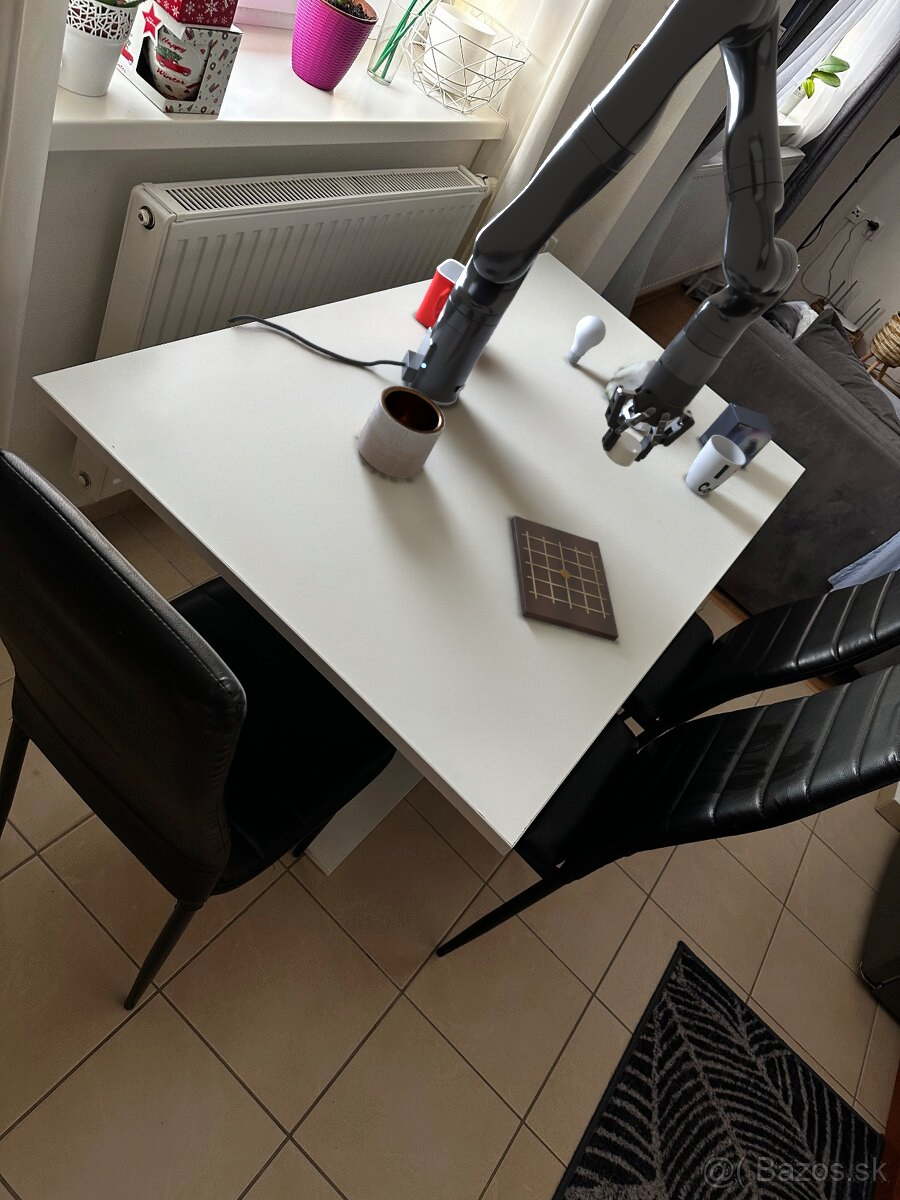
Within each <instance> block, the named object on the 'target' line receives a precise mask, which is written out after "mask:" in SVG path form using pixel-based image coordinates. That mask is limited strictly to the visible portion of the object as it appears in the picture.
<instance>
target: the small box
mask: <svg viewBox="0 0 900 1200" xmlns="http://www.w3.org/2000/svg"><path fill="white" fill-rule="evenodd" d="M713 435H720V436H723V437H725V438H727V439H729V440H731V441H732V442H733V443H735V444H736V445H737V446H738V447H739V448H740V449H741V451H742V452H743V454H744V455H745V458H746V462H745V463H744V464H743V465H742V466H741V467H740V468H739V469H743V470H744V469H745V468H746V467H747V466H748V465H749V464H750V463H751V461H753V460H754V458H756V456H757V455H758V454H759V453H760V452H761V451H762V450H763V449H764V448H765V447H766V446H767V445H768V444H769V443H770V442H771V441H772V440H773V438H775V437H776V436H777V434H776V431H775V429H774V427H773V426H772V423H771V422H770V419H769V417H768V416H767V415H765V414H762V413H760V412H758V411H754V410H751V409H749V408H746V407H744V406H740V405H738V404H736V403H732V402H730V403H728V405H727V406H726V407H725V409H724V410H723V411H722V412H721V413H720V414H719V415H718V416H717V418H716V419H715V420H714V421H713V422H712V423H711V424H710V426H709V427H708V428H707V429H706V430H705V431H704V432H703V433H702V434H701V435H700V437H699V438H698V439H699V441H700V443H701V445H702V448H703V447H704V446H705V445H706V443H707V442H708V441H709V439H710V438H711V437H712V436H713Z"/></svg>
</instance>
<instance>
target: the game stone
mask: <svg viewBox="0 0 900 1200" xmlns="http://www.w3.org/2000/svg"><path fill="white" fill-rule="evenodd" d="M640 442H641V441H640V440H639V439H638V438H637V437H636V436H635V435H633V434H631V433H630V432H628V431H626V430H625V431H624V432H622V433H621V437H620V438H619V439H618V441H617V442H616V443H615V445H614V446H613V447H612V449H611V450H610V451H609V452H607V451H604V452H605V455H606V456H607V457H608V458H609V460H611V461H612V462H613V463H614V464H616V465H618V466H621V467H630V466H631V465H632V464H633V463H634V462H635V461H634V460H635V459H636V458H637V457H638V455H639V454H640V453H641V451H642V445H641V443H640Z"/></svg>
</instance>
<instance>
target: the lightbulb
mask: <svg viewBox="0 0 900 1200" xmlns="http://www.w3.org/2000/svg"><path fill="white" fill-rule="evenodd" d="M606 331H607V329H606V325H605V322H604V321H603V320H602V319H601V318H600V317H599V316H596V315H587V316H584V317H583V318H581V319H580V320H579V322H578V323H577V325H576V327H575V333H574V335H575V336H574V340H573V344H572V345H571V348H570V350H569V353H568V354H567V355H566V356H567V360H568V362H569V363H570V364H578V362H579V361H580V360H581V359H582V357H584V356H585V355H586V353H587V352H588V351H590V350H591V349H592V348H594V347H596V346H598V345H600V344H601V343H602V342H603V341H604V339H605V337H606V334H607V333H606Z"/></svg>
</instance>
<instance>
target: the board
mask: <svg viewBox="0 0 900 1200" xmlns="http://www.w3.org/2000/svg"><path fill="white" fill-rule="evenodd" d="M510 527H511V534H512V542H513V551H514V558H515V567H516V575H517V582H518V590H519V599H520V606H521V614H522V616H523V617H526V618H528V619H529V618H530V619H533V620H537V621H539V622H540V621H541V622H544V623H547V624H552V625H555V626H558V627H562V628H565V629H568V630H569V629H570V630H572V631H577V632H580V633H584V634H587V635H591V636H595V637H597V638H602V639H606V640H609V641H612V642H615V641H616V640H617V639H619V633H618V632H619V631H618V627H617V623H616V617H615V613H614V609H613V603H612V599H611V594H610V590H609V585H608V580H607V575H606V571H605V566H604V561H603V558H602V552H601V548H600V543H599V542H598V541H595V540H592V539H589V538H586V537H583V536H579V535H577V534H573V533H570V532H567V531H564V530H561V529H557V528H555V527H552V526H549V525H546V524H542V523H539V522H536V521H534V520H530V519H527V518H524V517H521V516H517V515H513V516H512V517H511V519H510Z"/></svg>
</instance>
